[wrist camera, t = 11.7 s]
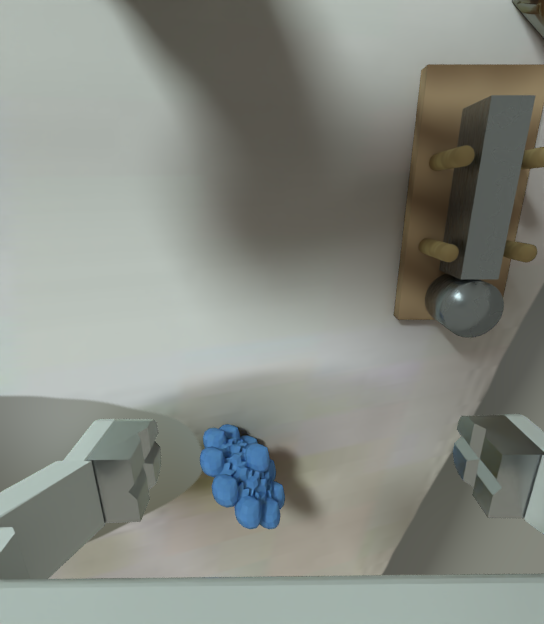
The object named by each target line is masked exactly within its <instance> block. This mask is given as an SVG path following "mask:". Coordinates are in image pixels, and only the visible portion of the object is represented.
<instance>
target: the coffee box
mask: <svg viewBox="0 0 544 624" xmlns="http://www.w3.org/2000/svg"><path fill="white" fill-rule="evenodd" d="M512 1H513V3H514V4H515V5H516V6H517V8H518V9H519V10H520V11H521V12H522V13H523V15H524V16H525V17H526V18H527V19H528V20H529V22H530V23H531V24H532V25H533V26H534V27H535V28H536V30H537V31H538V32H539V33H540V34H541V35H542V37H543V38H544V0H512Z"/></svg>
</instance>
